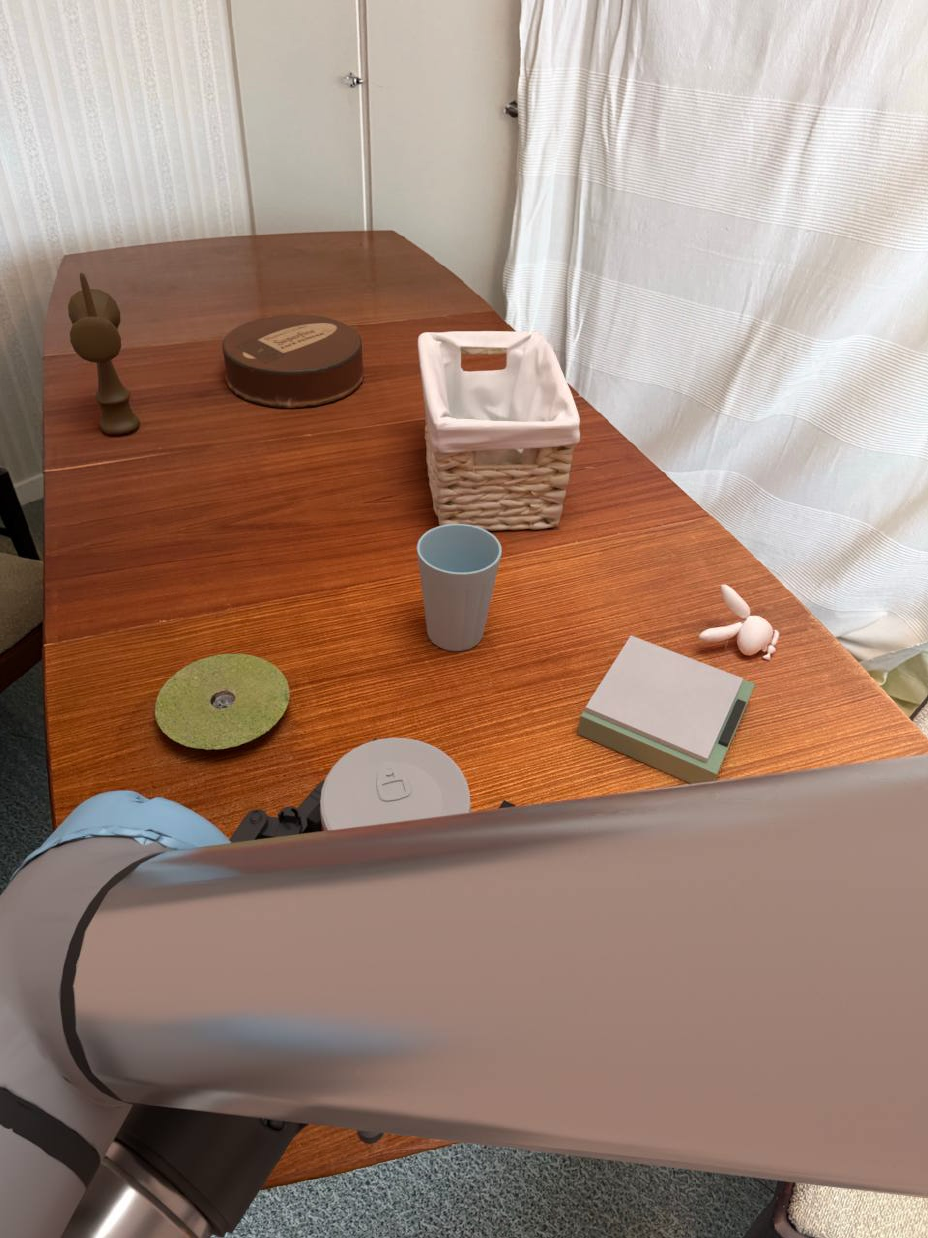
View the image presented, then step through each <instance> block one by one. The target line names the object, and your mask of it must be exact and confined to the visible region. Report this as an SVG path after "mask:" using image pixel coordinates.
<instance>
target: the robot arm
mask: <svg viewBox="0 0 928 1238" xmlns="http://www.w3.org/2000/svg"><path fill="white" fill-rule="evenodd" d="M375 740H378V739H377V738H374V739H373V740H372V741H375ZM324 782H325V779H324V780H322V781H320V782H319V783H318V784H317V785H316V786H315V787H314V788H313V790H311V791H310V793H309V795H307V796H306V797H305V798H304V800H303V801H302V802H301V803H300V804H299V805H298V807H295V806H293V805H291V806H290V805H289V806H285V807H283V808H281V809H280V810H279V811H278V813H277V817H276V816H269V815H268V814H267V813H266V811H264V810H263V809H259V808H257V809H252V810H250V811H249V812H248V813H247V814H245V816H244V818H243V819H242V820H241V822H240V823H239V824H238V827H236V829H235V831H234V832H233V834H231V836H230V838H228V837H227V836H226V834H225V833H223V832H222V831H221V830H220V829H219V828H218V827H216V826H215V824H213V823H212V822H211V821H209V820H208V819H206V818H205V817H204V816H202V815H200V814H198V813H197V812H196V811H195V810H192V809H190V808H188V807H186V806H184V805H182V804H181V803H178V802H176V801H174V800H171V799H168V798H165V797H161V796H155V797H154V798H151V799H150V798H146V797H145V796H144V795H143V794H141V793H139V792H137V791H134V790H127V789H125V790H123V789H122V790H121V789H120V790H111V791H110V790H109V791H105V792H101V793H98V794H96V795H94V796H91V797H90V798H87V799H86V800H83V802H81V803H80V804H79V805H78V806H76V807H75V808H74V809H73V810H72V811H71V812H70V814H69V815H68V816H67V817H66V818H65V819H64V820H63V821H62V822H61V823H60V825H59V826H58V827H57V828H56V829H55V830H54V831H53V832H52V833H51V834H50V835H49V837H48V838H47V839H46V840H45V841H43V843H42V844H41V845H40V846H39V847H38V848H36V849H35V850H34V851H32V852H31V853H30V854H28V855H27V857H26V858H25V859H24V860H23V861H22V863H21V864H20V866H19V867H18V868H17V869H16V870H15V871H14V872H13V874H12V876H10V879H9V881H8V884H7V887H6V888H5V889H4V890H3V892H2V893H1V894H0V1238H212V1235H213V1236H215V1237H218V1238H224V1237H225V1235H226V1234H227V1233H229V1234H233V1233H234V1232H235V1230H236V1229H237V1227H238V1225H239V1224H240V1222H241V1220H242V1219H243V1218H244V1216H245V1214H246V1213H247V1211H248V1209H250V1206H251V1205H252V1203H253V1202H254V1201H255V1199H256V1197H257V1196H258V1194H259V1193H260V1191H261V1190H262V1188H263V1186H264V1185H265V1183H266V1182H267V1180H268V1179H269V1177H270V1176H271V1174H272V1172H273V1171H274V1169H275V1168H276V1166H277V1165H278V1163H279V1161H280V1160H281V1159H282V1157H283V1156H284V1154H285V1152H286V1150H287V1149H288V1148H289V1145H290V1144H291V1143H292V1141H293V1140H294V1138H295V1137H296V1136H297V1135H298V1134H299V1133H300V1132H302V1130H303V1129H305V1128H306V1127H307V1126H309V1125H312V1126H313V1125H314V1126H322V1127H330V1128H338V1129H348V1130H355V1131H356V1134H357V1137H358V1138H359V1140H360V1141H361V1142H363V1143H364V1144H368V1145H373V1144H377V1143H378V1142H379V1141H380V1140H381V1139H382V1137H383V1136H384V1134H387V1135H388V1134H389V1135H397V1136H405V1137H412V1138H422V1139H431V1140H438V1141H439V1140H440V1141H445V1142H456V1143H464V1144H471V1145H479V1146H480V1145H481V1146H487V1147H488V1146H489V1147H496V1148H497V1147H498V1148H504V1149H505V1148H506V1149H514V1150H520V1151H521V1150H522V1151H529V1152H538V1153H547V1154H555V1155H564V1156H572V1157H580V1158H589V1159H598V1160H605V1161H613V1162H621V1163H630V1164H637V1165H645V1166H655V1167H663V1168H670V1169H671V1168H673V1169H680V1170H689V1171H695V1172H696V1171H697V1172H705V1173H713V1174H719V1175H721V1174H722V1175H729V1176H738V1177H747V1178H755V1179H761V1180H762V1179H763V1180H771V1181H779V1182H786V1183H787V1182H788V1183H796V1184H803V1185H814V1186H819V1187H820V1186H821V1187H830V1188H837V1189H846V1190H852V1191H853V1190H854V1191H860V1192H861V1191H862V1192H871V1193H879V1194H886V1195H887V1194H888V1195H895V1196H902V1197H903V1196H905V1197H912V1198H921V1199H928V753H921V754H915V755H907V756H900V757H892V758H883V759H875V760H867V761H860V762H851V763H845V764H836V765H829V766H828V765H827V766H821V767H813V768H804V769H797V770H790V771H789V770H788V771H782V772H774V773H765V774H758V775H750V776H742V777H735V778H727V779H719V780H715V781H711V782H703V783H695V784H690V783H688V784H680V785H674V786H673V785H672V786H665V787H657V788H649V789H648V788H647V789H642V790H634V791H626V792H617V793H611V794H609V793H608V794H603V795H595V796H586V797H579V798H572V799H564V800H556V801H549V802H540V803H532V804H523V805H516V804H514V803H512V802H509V801H507V800H505V799H503V801H502V802H501V804H500V805H499V806H498V808H493V809H487V810H486V809H485V810H478V811H477V810H476V811H471V812H469V813H461V814H453V815H445V816H438V817H430V818H422V819H414V820H406V821H399V822H391V823H383V824H375V825H367V826H360V827H352V828H344V829H336V830H328V831H322V825H321V814H320V804H321V803H320V800H321V792H322V788H323V785H324Z"/></svg>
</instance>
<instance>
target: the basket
mask: <svg viewBox="0 0 928 1238" xmlns="http://www.w3.org/2000/svg"><path fill="white" fill-rule="evenodd" d="M417 351H418V362H419V363H418V365H419V370H420V371H419V372H420V378H421V386H422V398H423V402H424V414H425V416H424V422H425V426H424V441H425V446H426V454H425V455H426V457H425V459H426V466H427V477H428V479H429V480H428V481H429V488H430V492H431V497H432V498H431V499H432V502H433V503H432V505H433V511H434V514H435V515H436V516H437V518H438V519H437V520H438V525H439V526H442V525H447V524H467V525H473V526H476V527H479V528H482V529H484V530H486V531H488V532H490V531H491V532H493V531H494V532H495V531H508V530H510V531H520V530H528V529H529V530H534V531H535V530H545V529H548V528H555V527H558V526H559V524H560V521H561V517H562V513H563V508H564V506H563V503H564V500H565V499H566V495H567V490H566V489H567V487H568V484H569V482H570V472H571V469H572V462H573V453H574V450H575V447H576V445H578V444H580V442H581V432H580V424H581V419H580V413H579V411H578V409H577V403H576V401H575V399H574V396H573V393H572V390H571V388H570V386H569V384H568V382H567V380H566V377H565V375H564V372H563V370H562V367H561V365H560V362H559V359H558V357H557V355H556V353H555V351H554V349H553V347H552V346H551V344H550V343H549V341H548V340H547V338H546V337H545V336H544V335H542V334H541V332H539V331H511V330H510V331H506V330H505V331H502V330H499V331H497V330H480V331H478V330H477V331H476V330H475V331H471V330H470V331H463V330H462V331H461V330H459V331H456V330H455V331H453V330H452V331H442V332H441V331H440V332H438V331H437V332H435V331H434V332H433V331H432V332H431V331H430V332H429V331H426V332H423V333H421V334H419V335H418V338H417ZM466 354H467V355H469V354H470V355H473V356H474V355H488V356H490V355H501V354H502V355H504V354H505V356H506V357H505V358H506V359H505V360H506V365H505V367H504V368H503V369H494V370H472V371H469V370H468V371H467V370H464V369H463V368H462V355H466Z"/></svg>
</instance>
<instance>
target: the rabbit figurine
mask: <svg viewBox="0 0 928 1238" xmlns="http://www.w3.org/2000/svg"><path fill="white" fill-rule="evenodd" d="M720 594H721V598H722V600H723V602H724V604H725V605H726V606H727V608H728V609H730V611H731V612H732V613H733V614H735V615H736V616H738V618H741V619H745V620H744V621H743V622H742V621H739V622H736V623H732V624H729V625H725V626H717V627H709V628H707V629H704V630H702V632H700V633H699V634H698V638H699V639H700V640H701V641H702V642H705V643H717V642H722V641H726V643H725V647H724V650H726V649H727V646H728V642H729V639H731V638H734V637H735V636H736V644H737V647H738V650H739V651H740V652H741V654H743V655H745V656H754V655H755V654H757V653H758V652H759V651H762V652H763V653H765V652H767V654H765V655H763V656H762V658H763V659H764V660H767V661H771V655H773V654H774V653H775V652H777V649H776V647H774V646H776V645H777V643H778V641H779V638H780V632H779V631H778V630H777V629H774V628H773V626H772V625H771V624H770V622H769V621H768V620H767V619H766V618H763V617H761V616H759V615H751V608H750V606H749V604H748V603H747V602H746V601H745V600H744V599H743V598H742V597H741V595H739V593H738V592H737V591H736V590H735V589H733V588H732V587H731V586H729V585H727V584H721V585H720Z"/></svg>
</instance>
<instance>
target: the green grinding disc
mask: <svg viewBox="0 0 928 1238" xmlns="http://www.w3.org/2000/svg"><path fill="white" fill-rule="evenodd" d="M290 693H291V692H290V686H289V684H288V680H287V678H286V677H285V674H284V673H283V672H282V671H281V669H279V668H278V666H276V665H274V663H272V662H269V661H268V660H267V659H264V658H263V657H259V656H256V655H252V654H246V653H221V654H215V655H211V656H206V657H205V658H200V659H198V660H197V661H196V660H195V661H193V662H192V663H189V664H187V665H186V666H184V667H183V668H181V669H179V670H178V671H176V672H175V674H173V675H172V676H171V677H170V678H169V679H167V680H166V682H165V683H164V685H162V687H161V688H160V691H159V692H158V694H157V697H156V700H155V705H154V714H155V719H156V723H157V726H158V727H159V728H160V730H161V731H162V732H163V733H164V734H165V735H166V736H167V737H168V738H170V739H171V740H173V741H174V742H176V743H178V744H180V745H182V746H185V747H188V748H193V749H200V750H201V749H203V750H209V751H210V750H224V749H229V748H234V747H236V748H237V747H238V746H240V745H242V744H246V743H249V742H251V741H253V740H256V739H257V738H259V737H261V736H262V735H265V734H266V733H267V732H269V731H270V730H271V729H272V728H273V727H274V726H276V725H277V723H278V722H279V720H280V719H281V718H282V717H283V716H284V714H285V712H286V710H287V708H288V705H289V702H290V698H291V696H290Z"/></svg>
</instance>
